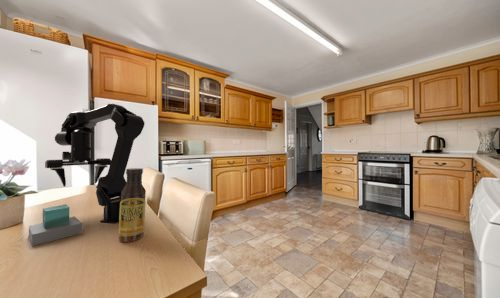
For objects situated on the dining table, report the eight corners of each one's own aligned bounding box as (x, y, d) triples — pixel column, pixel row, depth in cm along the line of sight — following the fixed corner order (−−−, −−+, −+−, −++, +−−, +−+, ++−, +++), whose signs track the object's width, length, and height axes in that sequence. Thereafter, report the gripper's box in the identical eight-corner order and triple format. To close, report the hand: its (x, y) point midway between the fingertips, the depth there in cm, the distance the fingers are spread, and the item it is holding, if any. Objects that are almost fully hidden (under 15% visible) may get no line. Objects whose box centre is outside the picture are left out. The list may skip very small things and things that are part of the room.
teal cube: (69, 223, 57) (69, 207, 57) (44, 229, 53) (45, 211, 53) (65, 220, 60) (65, 204, 60) (42, 225, 56) (42, 208, 56)
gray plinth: (82, 232, 57) (82, 222, 57) (32, 246, 49) (32, 234, 49) (74, 225, 63) (74, 216, 63) (28, 236, 55) (28, 225, 55)
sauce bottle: (116, 245, 49) (116, 170, 49) (120, 236, 55) (120, 168, 55) (145, 239, 52) (145, 168, 52) (146, 231, 58) (146, 167, 58)
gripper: (103, 146, 86) (103, 180, 86) (43, 145, 71) (42, 186, 71) (111, 145, 79) (111, 182, 79) (47, 144, 64) (47, 189, 64)
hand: (80, 184), depth 73 cm, fingers open, 9 cm apart
